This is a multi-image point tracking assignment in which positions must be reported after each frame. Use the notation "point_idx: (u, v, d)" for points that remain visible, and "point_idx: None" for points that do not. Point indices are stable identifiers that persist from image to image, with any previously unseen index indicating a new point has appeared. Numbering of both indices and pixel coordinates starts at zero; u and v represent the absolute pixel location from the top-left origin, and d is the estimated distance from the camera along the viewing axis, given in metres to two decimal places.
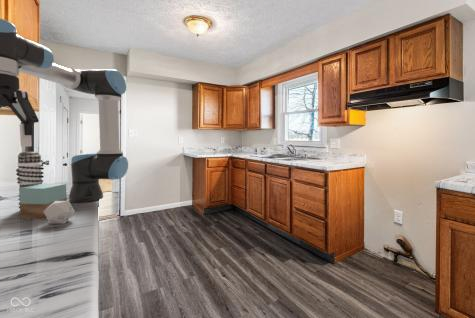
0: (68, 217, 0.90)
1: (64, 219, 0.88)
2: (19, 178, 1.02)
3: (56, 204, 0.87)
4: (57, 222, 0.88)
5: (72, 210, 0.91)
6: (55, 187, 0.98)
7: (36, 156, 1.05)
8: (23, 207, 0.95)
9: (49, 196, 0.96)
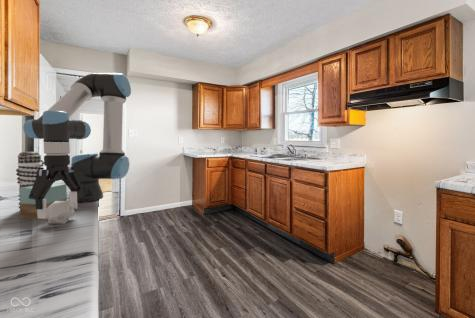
0: (68, 217, 0.90)
1: (64, 219, 0.88)
2: (19, 178, 1.02)
3: (56, 204, 0.87)
4: (57, 222, 0.88)
5: (72, 210, 0.91)
6: (55, 187, 0.98)
7: (36, 156, 1.05)
8: (23, 207, 0.94)
9: (49, 196, 0.95)
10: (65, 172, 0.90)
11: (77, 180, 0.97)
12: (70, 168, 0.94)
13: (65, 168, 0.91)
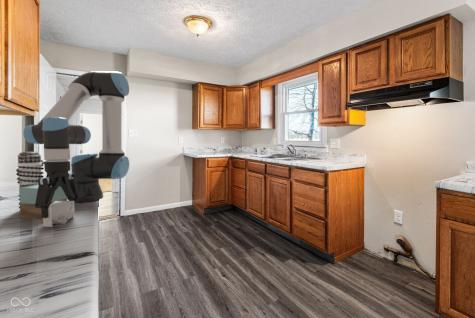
0: (68, 217, 0.90)
1: (64, 219, 0.88)
2: (19, 178, 1.02)
3: (56, 204, 0.87)
4: (57, 222, 0.88)
5: (72, 210, 0.91)
6: None
7: (36, 156, 1.05)
8: (23, 207, 0.95)
9: None
10: (65, 178, 0.90)
11: (75, 188, 0.96)
12: (70, 175, 0.94)
13: (66, 173, 0.91)
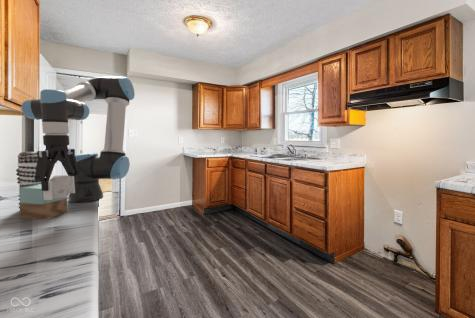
0: (68, 191, 0.90)
1: (64, 193, 0.88)
2: (19, 178, 1.02)
3: (56, 178, 0.87)
4: (57, 196, 0.88)
5: (72, 185, 0.91)
6: None
7: (36, 156, 1.05)
8: (23, 207, 0.95)
9: None
10: (65, 152, 0.90)
11: (75, 163, 0.96)
12: (70, 150, 0.94)
13: (65, 148, 0.91)
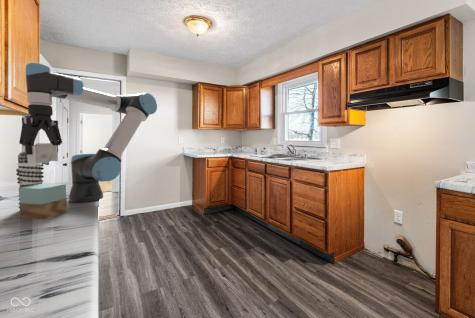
0: (51, 157, 0.98)
1: (47, 158, 0.96)
2: (19, 178, 1.03)
3: (39, 144, 0.95)
4: (40, 161, 0.96)
5: (55, 152, 0.99)
6: (54, 187, 0.98)
7: None
8: (23, 207, 0.95)
9: (48, 196, 0.95)
10: (48, 122, 0.98)
11: (58, 134, 1.04)
12: (53, 121, 1.02)
13: (48, 118, 0.99)
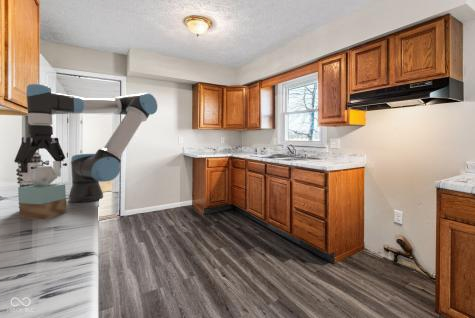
0: (51, 180, 0.99)
1: (47, 182, 0.97)
2: (19, 178, 1.03)
3: (39, 168, 0.96)
4: (40, 184, 0.97)
5: (54, 174, 1.00)
6: (53, 187, 0.98)
7: (36, 156, 1.05)
8: (22, 207, 0.94)
9: (47, 196, 0.95)
10: (48, 141, 0.99)
11: (60, 151, 1.05)
12: (53, 139, 1.03)
13: (48, 138, 1.00)
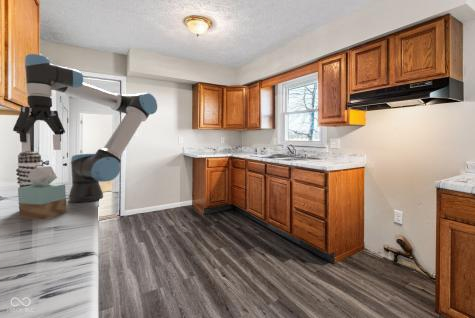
0: (50, 180, 0.99)
1: (46, 182, 0.97)
2: (19, 178, 1.02)
3: (39, 168, 0.96)
4: (40, 184, 0.97)
5: (54, 175, 1.00)
6: (53, 187, 0.98)
7: (36, 156, 1.05)
8: (22, 207, 0.94)
9: (47, 196, 0.95)
10: (48, 113, 0.98)
11: (60, 124, 1.05)
12: (53, 112, 1.02)
13: (48, 110, 0.99)
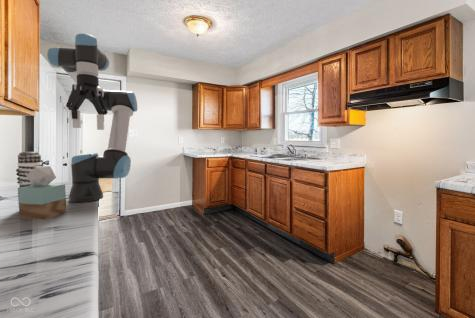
0: (50, 180, 0.98)
1: (46, 182, 0.97)
2: (19, 178, 1.02)
3: (38, 168, 0.96)
4: (39, 184, 0.96)
5: (53, 174, 1.00)
6: (53, 187, 0.97)
7: (36, 156, 1.05)
8: (22, 207, 0.94)
9: (47, 196, 0.95)
10: (94, 92, 1.00)
11: (103, 104, 1.07)
12: (98, 92, 1.04)
13: (94, 90, 1.01)
